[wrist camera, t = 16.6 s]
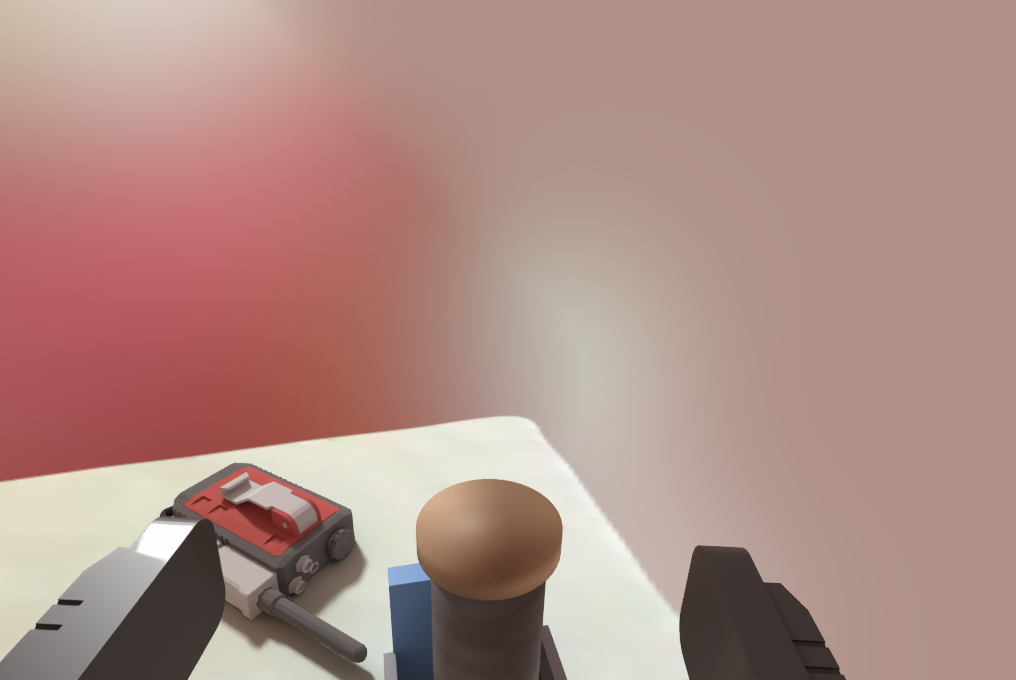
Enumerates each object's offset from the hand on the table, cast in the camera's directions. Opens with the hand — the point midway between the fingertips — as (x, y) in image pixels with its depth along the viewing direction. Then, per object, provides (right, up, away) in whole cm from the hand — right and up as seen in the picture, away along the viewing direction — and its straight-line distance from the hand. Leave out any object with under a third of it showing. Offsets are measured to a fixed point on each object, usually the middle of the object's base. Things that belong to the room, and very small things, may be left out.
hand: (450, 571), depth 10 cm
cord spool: (0, -16, +18) cm, 24 cm away
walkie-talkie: (-14, -11, +30) cm, 35 cm away
